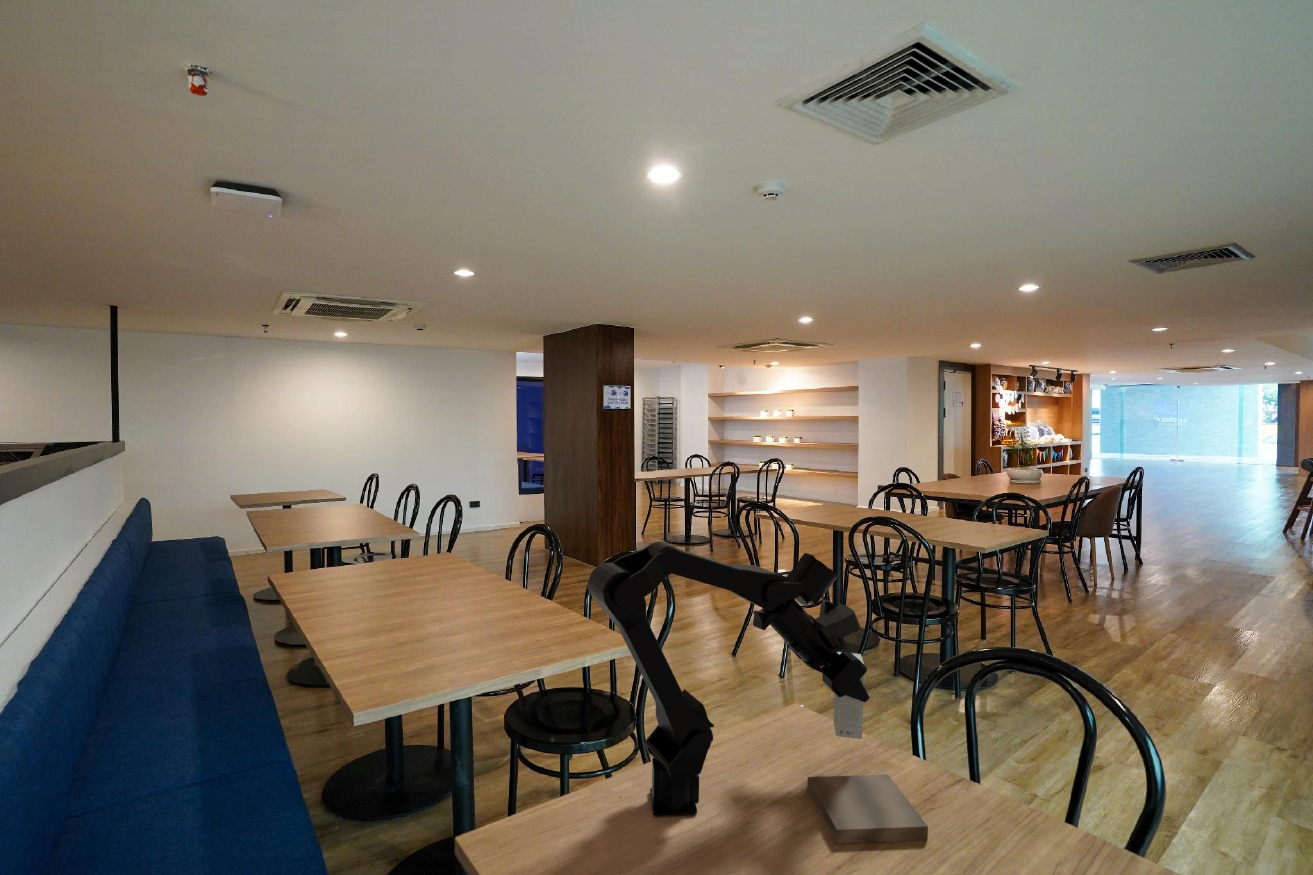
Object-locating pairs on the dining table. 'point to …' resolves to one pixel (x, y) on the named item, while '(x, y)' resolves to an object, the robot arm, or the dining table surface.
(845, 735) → the skincare box
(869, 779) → the walnut plinth
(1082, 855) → the dining table surface
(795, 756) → the dining table surface
